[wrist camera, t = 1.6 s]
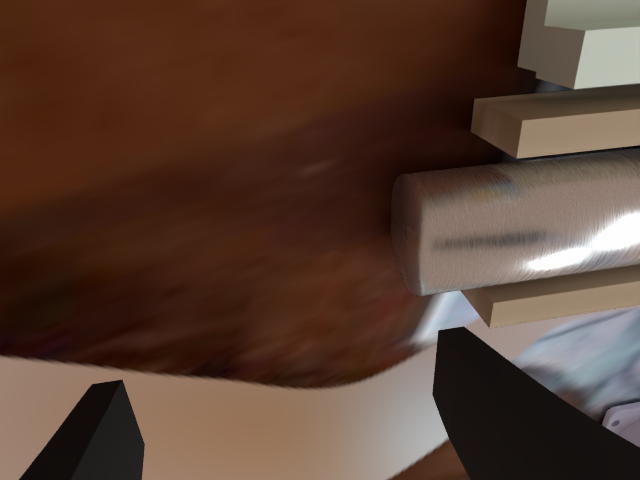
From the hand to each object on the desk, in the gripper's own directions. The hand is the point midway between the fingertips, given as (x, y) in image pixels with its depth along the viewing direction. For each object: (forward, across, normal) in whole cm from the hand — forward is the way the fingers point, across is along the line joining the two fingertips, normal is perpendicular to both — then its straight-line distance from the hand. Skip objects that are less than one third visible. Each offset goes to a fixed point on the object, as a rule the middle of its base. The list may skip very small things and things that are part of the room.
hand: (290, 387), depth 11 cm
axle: (+9, -12, 0) cm, 15 cm away
